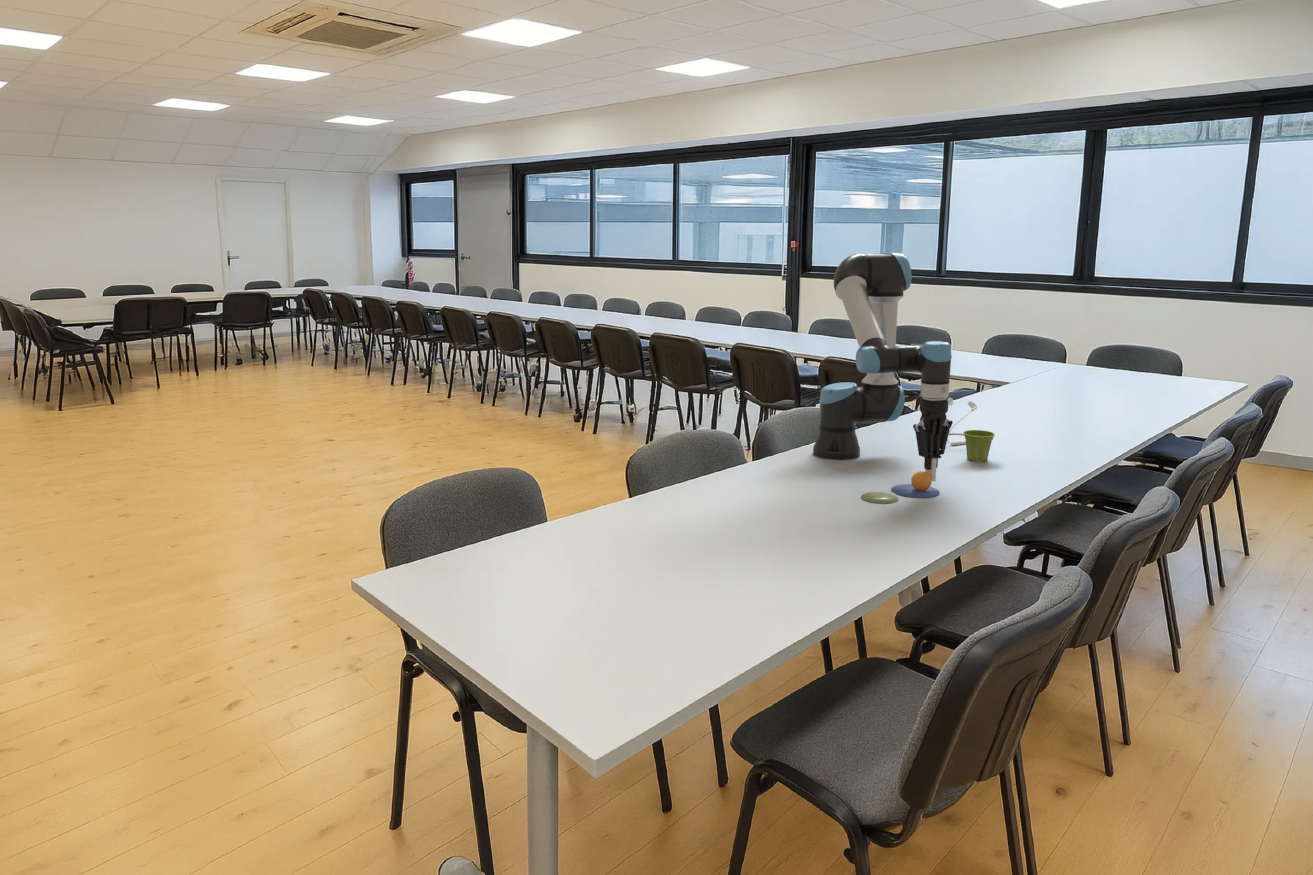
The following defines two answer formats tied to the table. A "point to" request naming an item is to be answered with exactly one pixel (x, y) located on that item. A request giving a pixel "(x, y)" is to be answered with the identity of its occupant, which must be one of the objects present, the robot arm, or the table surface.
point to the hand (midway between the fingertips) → (930, 479)
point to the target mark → (914, 491)
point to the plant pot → (978, 444)
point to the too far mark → (879, 497)
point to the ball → (921, 481)
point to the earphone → (973, 407)
